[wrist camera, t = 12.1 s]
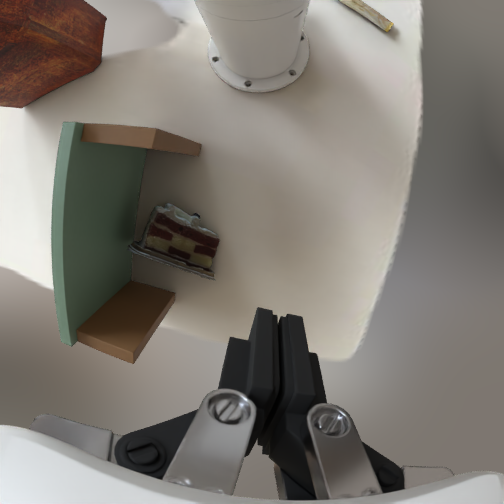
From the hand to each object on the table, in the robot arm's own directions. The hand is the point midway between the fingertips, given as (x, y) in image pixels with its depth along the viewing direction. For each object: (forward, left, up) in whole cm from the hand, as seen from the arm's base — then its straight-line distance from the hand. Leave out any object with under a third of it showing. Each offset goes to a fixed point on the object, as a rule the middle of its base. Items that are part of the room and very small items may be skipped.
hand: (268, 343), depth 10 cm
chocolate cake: (+4, -10, -26) cm, 28 cm away
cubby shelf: (+3, -14, -25) cm, 29 cm away
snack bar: (-34, +6, -25) cm, 42 cm away
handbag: (-20, -39, -26) cm, 51 cm away
